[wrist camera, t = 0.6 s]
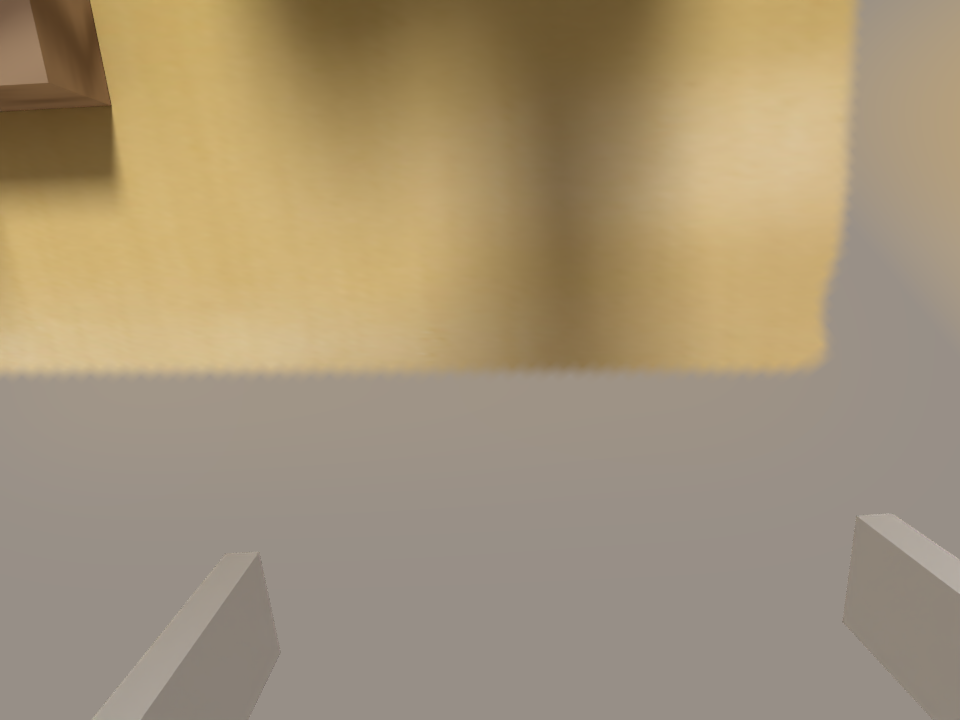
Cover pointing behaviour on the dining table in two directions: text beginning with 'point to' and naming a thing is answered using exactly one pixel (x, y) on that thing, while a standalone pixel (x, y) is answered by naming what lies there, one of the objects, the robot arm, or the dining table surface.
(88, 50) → the wooden box with sign
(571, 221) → the dining table surface
